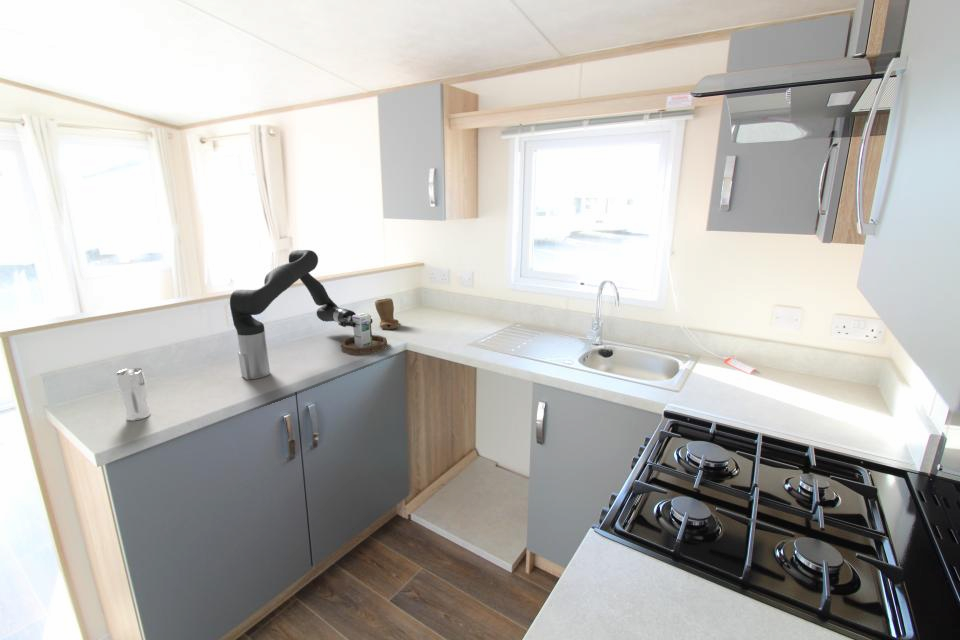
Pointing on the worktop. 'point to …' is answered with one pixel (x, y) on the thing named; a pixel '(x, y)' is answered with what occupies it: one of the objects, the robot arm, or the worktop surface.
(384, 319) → the tan boot
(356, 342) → the syrup box
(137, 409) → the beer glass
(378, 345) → the round tray
